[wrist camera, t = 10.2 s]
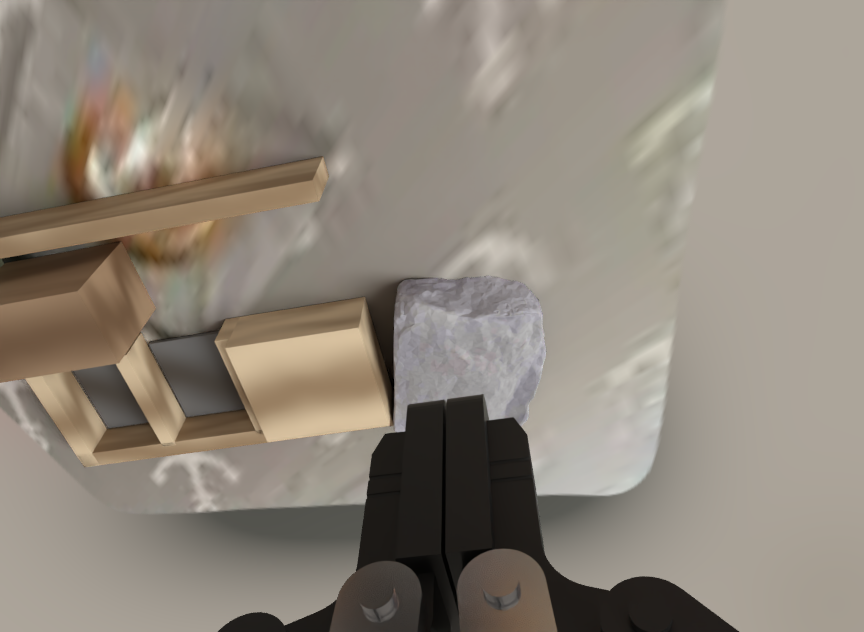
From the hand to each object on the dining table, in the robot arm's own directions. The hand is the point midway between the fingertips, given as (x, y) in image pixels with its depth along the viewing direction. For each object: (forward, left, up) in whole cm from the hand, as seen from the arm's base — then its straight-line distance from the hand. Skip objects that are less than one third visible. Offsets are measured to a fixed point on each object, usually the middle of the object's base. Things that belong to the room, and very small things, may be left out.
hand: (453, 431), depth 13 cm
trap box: (+12, -19, -27) cm, 35 cm away
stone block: (+18, -2, -28) cm, 33 cm away
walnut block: (+8, -26, -27) cm, 38 cm away
